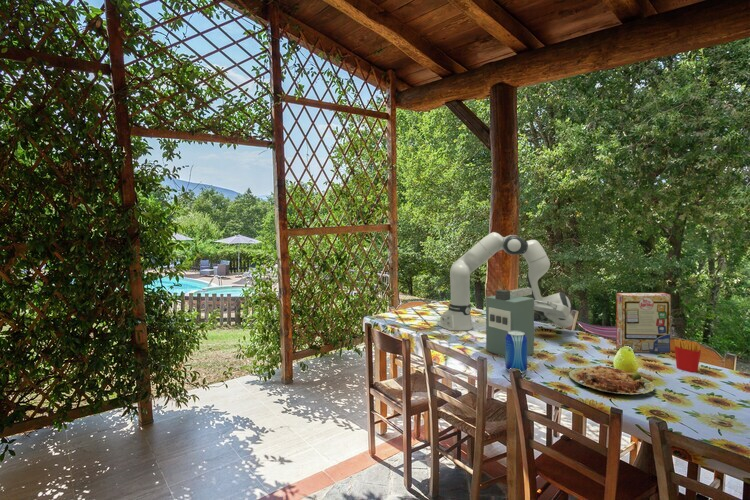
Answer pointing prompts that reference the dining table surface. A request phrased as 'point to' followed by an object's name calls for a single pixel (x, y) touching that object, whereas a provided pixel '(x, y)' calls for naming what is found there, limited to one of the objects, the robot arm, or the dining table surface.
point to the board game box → (643, 322)
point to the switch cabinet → (508, 322)
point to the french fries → (687, 355)
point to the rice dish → (611, 380)
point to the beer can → (516, 351)
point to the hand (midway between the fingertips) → (539, 301)
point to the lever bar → (512, 293)
